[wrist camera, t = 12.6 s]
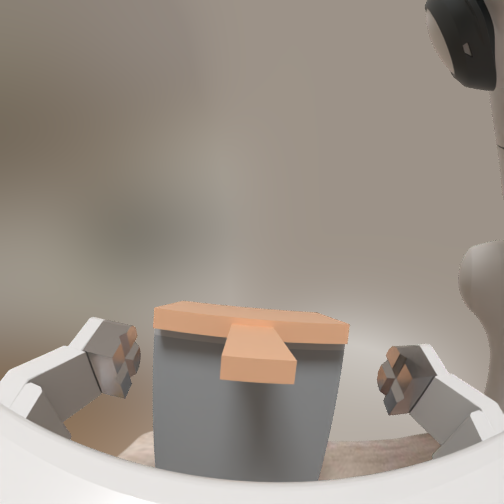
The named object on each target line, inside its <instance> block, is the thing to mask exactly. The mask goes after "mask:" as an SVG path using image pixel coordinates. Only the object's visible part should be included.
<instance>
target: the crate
mask: <svg viewBox="0 0 504 504" xmlns="http://www.w3.org/2000/svg"><path fill="white" fill-rule="evenodd" d="M226 340H227V338H226V337H216V336H208V335H199V334H191V333H184V332H176V331H169V330H163V329H156V328H155V333H154V356H153V431H154V452H155V467H156V468H159V469H163V470H168V471H173V472H178V473H184V474H189V475H195V476H202V477H209V478H218V479H227V480H238V481H255V482H305V481H318V478H319V475H320V471H321V467H322V463H323V459H324V455H325V451H326V447H327V443H328V438H329V433H330V429H331V424H332V420H333V414H334V409H335V404H336V399H337V393H338V387H339V381H340V375H341V369H342V362H343V355H344V347H345V344H317V343H292V342H284V343H285V345H286V346H287V347H288V349H289V350H290V352H291V353H292V355H293V356H294V357H295V359H296V360H297V365H296V373H295V381H294V384H274V383H256V382H243V381H232V380H222V379H220V369H221V356H222V353H223V349H224V346H225V343H226Z"/></svg>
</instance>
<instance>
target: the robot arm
mask: <svg viewBox="0 0 504 504" xmlns="http://www.w3.org/2000/svg"><path fill="white" fill-rule="evenodd" d="M425 10H426V22H427V29H428V33H429V37H430V39H431V42H432V44H433V47H434V49H435V50H436V52H437V54H438V56H439V57H440V58H441V60H442V62H443V63H444V64H445V65H446V67H447V68H448V69H449V70H450V72H451V74H452V75H453V77H454V78H455V79H457V80H458V81H459V82H460V83H461V84H462V85H464V86H466V87H469V88H474V89H480V90H488V91H489V94H490V102H491V109H492V117H493V123H494V130H495V136H496V143H497V149H498V156H499V164H500V172H501V184H502V195H503V198H504V0H427V2H426V4H425ZM458 276H459V277H458V283H459V290H460V294H461V296H462V299H463V301H464V303H465V304H466V306H467V307H468V308H469V309H470V310H471V311H472V312H473V313H474V314H475V315H476V316H477V318H478V319H479V320H480V322H481V324H482V325H483V327H484V329H485V332H486V334H487V337H488V341H489V347H490V365H489V373H488V379H487V384H486V388H485V392H484V394H483V393H481V392H480V391H478V390H476V389H475V388H473V387H472V386H470V385H469V384H467V383H466V382H464V381H463V380H461V379H459V378H458V377H456V376H455V375H453V374H449V373H448V372H447V370H446V368H445V367H444V365H443V363H442V362H441V360H440V359H439V357H438V355H437V354H436V352H435V351H434V349H433V348H432V346H431V345H429V344H420V345H409V346H392V347H391V348H390V349H389V350H388V352H387V354H386V357H387V361H386V362H384V363H383V364H382V365H381V367H380V369H379V371H378V377H377V383H378V387H379V390H380V392H382V393H383V394H384V395H385V398H384V404H385V407H386V409H387V412H388V415H398V414H405V413H410V415H411V416H412V417H413V418H414V419H415V420H416V421H417V422H418V423H419V424H420V425H421V426H422V427H423V428H424V429H425V430H426V431H427V432H428V433H429V434H430V435H431V436H432V437H433V438H434V439H435V440H436V441H437V442H438V443H439V444H440V445H441V446H440V447H439V448H438V449H437V450H436V451H435V452H434V453H433V455H432V459H433V460H429V461H426V462H423V463H419V464H415V465H412V466H408V467H404V468H399V469H395V470H390V471H386V472H381V473H375V474H370V475H364V476H357V477H350V478H342V479H333V480H321V481H305V482H255V481H238V480H227V479H218V478H209V477H202V476H195V475H189V474H184V473H178V472H173V471H168V470H163V469H159V468H155V467H150V466H146V465H143V464H139V463H135V462H132V461H128V460H125V459H121V458H118V457H115V456H112V455H109V454H106V453H103V452H100V451H97V450H95V449H92V448H89V447H87V446H84V445H81V444H79V443H76V442H74V441H72V440H70V439H71V435H70V433H69V431H68V430H67V429H66V427H65V425H64V424H63V422H64V421H65V420H66V419H68V418H69V417H70V416H72V415H73V414H75V413H76V412H78V411H79V410H80V409H82V408H83V407H84V406H86V405H87V404H89V403H90V402H91V401H93V400H94V399H96V398H97V397H98V396H100V395H101V393H104V394H108V395H112V396H116V397H120V398H124V399H125V398H126V396H127V393H128V391H129V388H130V387H131V384H132V383H131V379H130V377H132V376H133V375H135V374H136V373H137V371H138V368H139V364H140V348H139V346H138V345H137V343H136V342H135V340H136V338H137V332H136V328H135V327H134V326H132V325H128V324H123V323H119V322H114V321H110V320H104V319H100V318H96V317H92V318H90V319H89V320H88V321H87V323H86V324H85V325H84V326H83V328H82V329H81V330H80V332H79V333H78V334H77V335H76V337H75V338H74V339H73V341H72V342H71V343H70V345H69V346H62V347H60V348H58V349H56V350H53V351H51V352H49V353H47V354H45V355H42V356H40V357H38V358H35V359H33V360H31V361H29V362H26V363H24V364H22V365H20V366H17V367H15V368H13V369H11V370H9V371H8V372H7V373H6V375H5V376H4V377H3V379H2V380H1V381H0V504H504V240H495V241H491V242H487V243H483V244H479V245H476V246H472V247H471V248H470V249H469V250H468V251H467V252H466V254H465V256H464V257H463V260H462V262H461V265H460V269H459V275H458Z"/></svg>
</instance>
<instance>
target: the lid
mask: <svg viewBox="0 0 504 504" xmlns="http://www.w3.org/2000/svg"><path fill="white" fill-rule="evenodd" d="M153 328H156V329H163V330H169V331H176V332H184V333H191V334H199V335H208V336H216V337H226V338H227V340H226V343H225V346H224V349H223V353H222V356H221V369H220V379H222V380H232V381H243V382H256V383H274V384H294V381H295V373H296V365H297V360H296V359H295V357H294V356H293V355H292V353H291V352H290V350H289V349H288V347H287V346H286V345H285V343H284V342H292V343H317V344H347V341H348V333H349V324H347V323H345V322H342V321H339V320H336V319H333V318H331V317H328V316H325V315H322V314H319V313H317V312H300V311H284V310H270V309H258V308H247V307H235V306H225V305H216V304H207V303H198V302H189V301H180V302H176V303H172V304H168V305H164V306H159V307H156V308H155V309H154V323H153Z"/></svg>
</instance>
